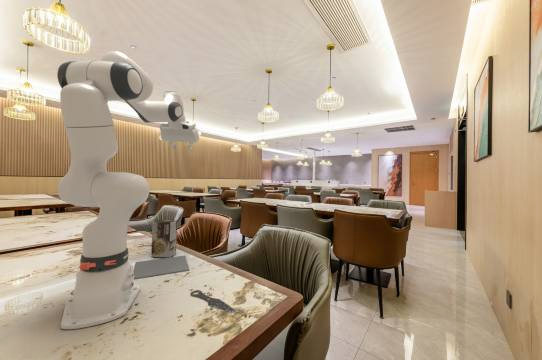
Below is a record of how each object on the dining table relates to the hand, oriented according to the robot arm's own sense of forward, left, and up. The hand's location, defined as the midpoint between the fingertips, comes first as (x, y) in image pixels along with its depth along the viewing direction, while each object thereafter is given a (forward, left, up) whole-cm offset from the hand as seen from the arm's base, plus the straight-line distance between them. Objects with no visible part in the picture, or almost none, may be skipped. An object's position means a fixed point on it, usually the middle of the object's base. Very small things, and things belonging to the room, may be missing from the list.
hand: (182, 149), depth 125 cm
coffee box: (-18, +9, -52) cm, 56 cm away
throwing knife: (-66, -4, -53) cm, 85 cm away
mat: (-31, +10, -52) cm, 62 cm away
